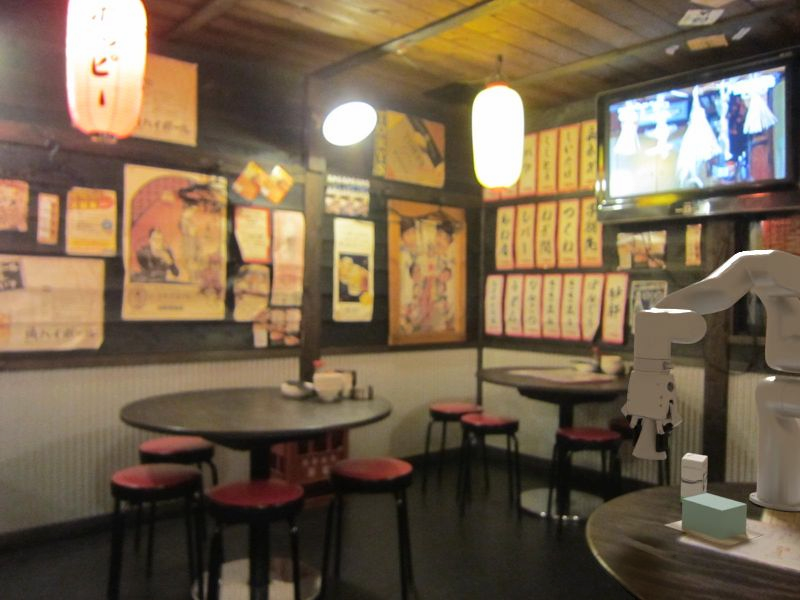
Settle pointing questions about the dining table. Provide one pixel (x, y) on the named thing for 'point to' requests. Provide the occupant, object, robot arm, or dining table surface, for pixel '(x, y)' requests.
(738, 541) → the base board
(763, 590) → the dining table surface
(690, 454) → the ink box
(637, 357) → the robot arm
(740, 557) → the dining table surface
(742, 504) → the teal block
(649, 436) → the flask
